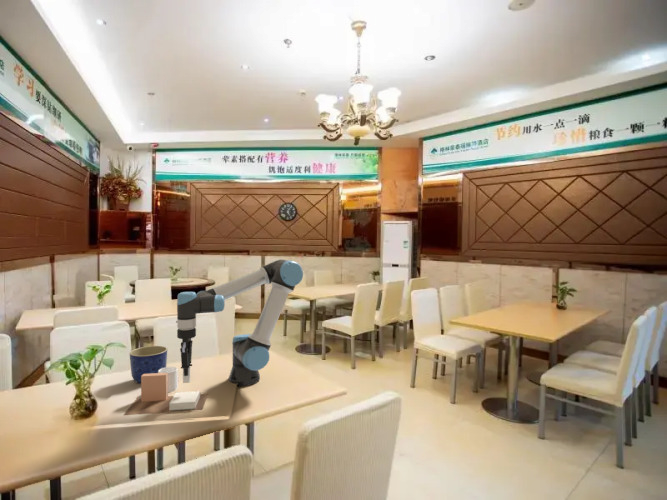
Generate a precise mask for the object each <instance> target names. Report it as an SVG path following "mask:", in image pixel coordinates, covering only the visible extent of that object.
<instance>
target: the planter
mask: <svg viewBox="0 0 667 500" xmlns="http://www.w3.org/2000/svg"><path fill="white" fill-rule="evenodd" d="M167 359H168V348H167V347H166V346H161V345H149V346H141V347H138V348H135V349H132V350H130V352H129V362H130V374H131V377H132V379H133V381H134V382H135V383H138V384H141V376H142V375H143V374H151V373H158V370H160V369H162V368H165V367H167Z"/></svg>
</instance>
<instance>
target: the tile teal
mask: <svg viewBox="0 0 667 500" xmlns="http://www.w3.org/2000/svg"><path fill="white" fill-rule="evenodd" d="M200 394H201V392H200V390H197V391H193V390H192V391H181V392H175V393H174V395H172V396H173V398H172V400H171V401H170V403H169V410H171V411H172V410H187V409H195V408H196V405H197V403H198V400H199V398H200Z"/></svg>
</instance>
